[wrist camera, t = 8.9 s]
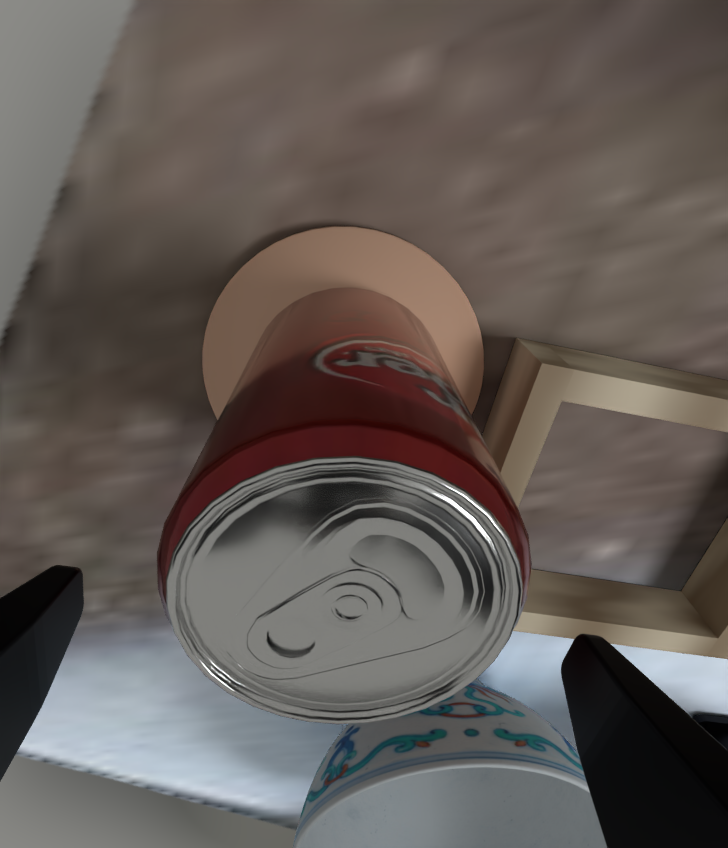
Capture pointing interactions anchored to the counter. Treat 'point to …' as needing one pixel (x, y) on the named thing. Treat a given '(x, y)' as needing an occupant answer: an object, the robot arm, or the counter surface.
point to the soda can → (344, 524)
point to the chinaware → (452, 781)
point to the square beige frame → (516, 458)
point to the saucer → (339, 268)
